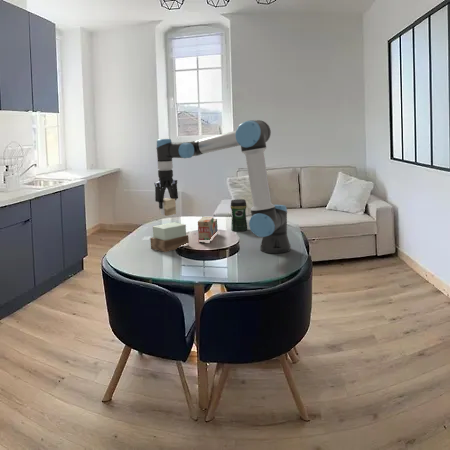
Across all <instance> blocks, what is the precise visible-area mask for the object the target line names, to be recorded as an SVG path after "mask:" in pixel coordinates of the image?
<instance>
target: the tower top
mask: <svg viewBox="0 0 450 450" xmlns="http://www.w3.org/2000/svg"><path fill="white" fill-rule="evenodd" d="M186 225H187V224H184V223H181V222H180V223H179V222H175V221H172V222H168V223H164V224H159V225H154V226H152V237H153V238H157V239H161V240H169V239H174V238H178V237H182V236H186V235H187V228H186V227H187V226H186Z"/></svg>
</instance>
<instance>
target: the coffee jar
mask: <svg viewBox="0 0 450 450" xmlns="http://www.w3.org/2000/svg"><path fill="white" fill-rule="evenodd" d="M247 208H248V207H247V201H246V199H245V198H244V199H243V198H241V199H240V198H237V199H231V200H230V210H231V226H230V228H231V229H230V230H231V231H232V232H245V231H247V230H248V222H247V221H248V220H247V215H246V213H247V211H246V210H247Z"/></svg>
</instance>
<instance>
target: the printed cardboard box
mask: <svg viewBox="0 0 450 450" xmlns="http://www.w3.org/2000/svg"><path fill="white" fill-rule="evenodd" d="M218 229H219V228H218V218H214V216H202V217H201V218H200V219H199V220H198V221H197V232H198V234H197V235H198V239H197V240H198V241H199V240H210V239H211V237H212V236H213V235H214V234H215V233H216V232H217V231H218ZM218 232H219V231H218Z"/></svg>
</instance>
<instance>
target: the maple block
mask: <svg viewBox="0 0 450 450" xmlns="http://www.w3.org/2000/svg"><path fill="white" fill-rule="evenodd" d="M163 202H164V207H165V215H164V216H166V217H169V216H173V215H177V209H176V208H177V206H176V201H175V199H172V198H169V197H164V199H163ZM159 211H160V209H159Z"/></svg>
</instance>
